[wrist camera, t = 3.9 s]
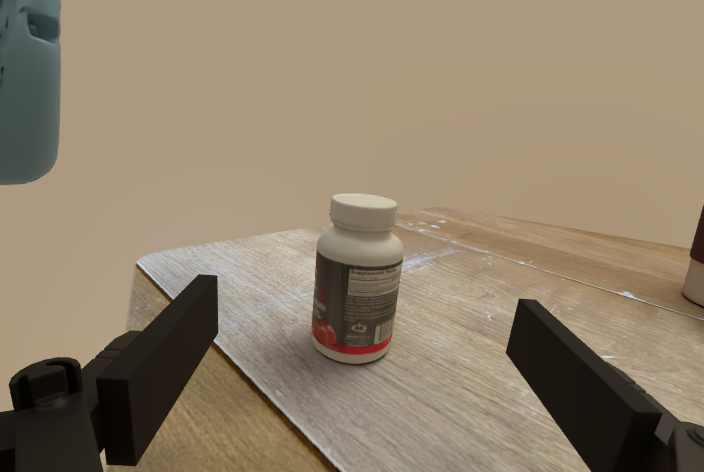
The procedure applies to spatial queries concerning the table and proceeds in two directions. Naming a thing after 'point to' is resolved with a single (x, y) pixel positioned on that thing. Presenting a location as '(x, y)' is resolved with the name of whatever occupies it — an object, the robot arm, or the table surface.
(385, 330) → the pill bottle
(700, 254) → the coffee cup
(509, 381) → the table surface
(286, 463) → the table surface
